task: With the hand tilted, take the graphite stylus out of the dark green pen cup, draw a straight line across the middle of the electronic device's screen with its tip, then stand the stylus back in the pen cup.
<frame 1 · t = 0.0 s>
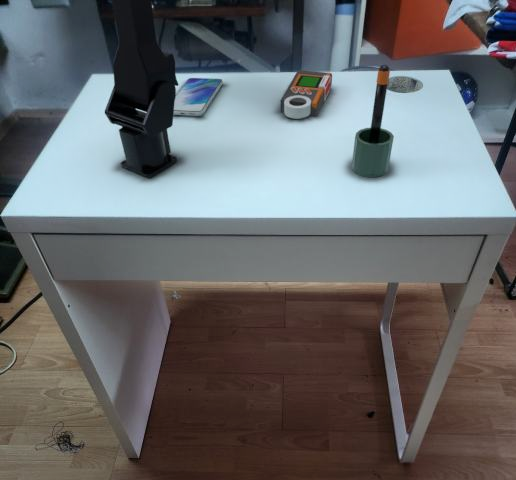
hand: (255, 7, 83), 15 cm above the table, tool pointing down, fingers open, 9 cm apart
stylus: (370, 165, 76), resting on pen cup
pen cup: (369, 168, 76), on the table
smartphone: (195, 99, 95), on the table
electronic device: (305, 103, 92), on the table
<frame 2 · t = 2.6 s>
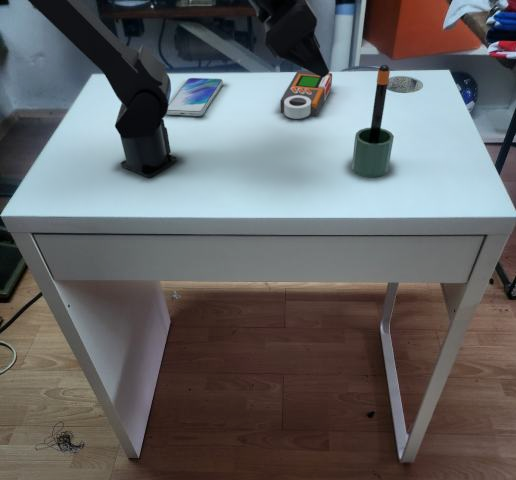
hand: (321, 61, 69), 14 cm above the table, tool tilted 40°, fingers open, 9 cm apart
nothing on the table moved.
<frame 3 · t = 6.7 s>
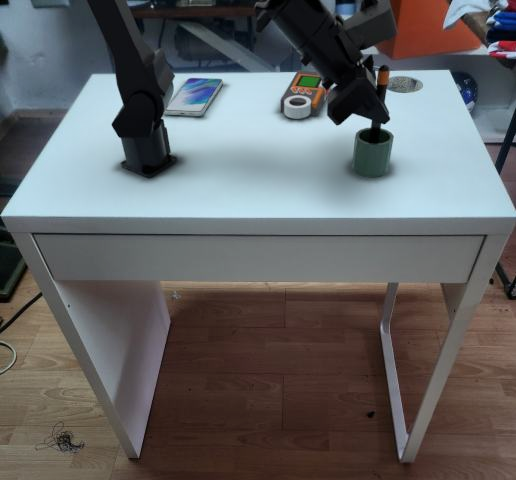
hand: (387, 118, 71), 7 cm above the table, tool tilted 45°, fingers closed on stylus, 1 cm apart
stylus: (370, 165, 76), resting on pen cup, touching gripper
everything else where it was.
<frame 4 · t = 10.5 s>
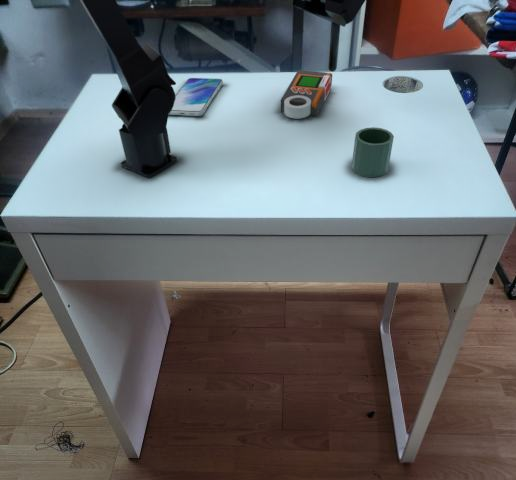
hand: (342, 22, 80), 14 cm above the table, tool tilted 45°, fingers closed on stylus
stylus: (332, 71, 85), point 7 cm above the table, touching gripper
everything else where it was.
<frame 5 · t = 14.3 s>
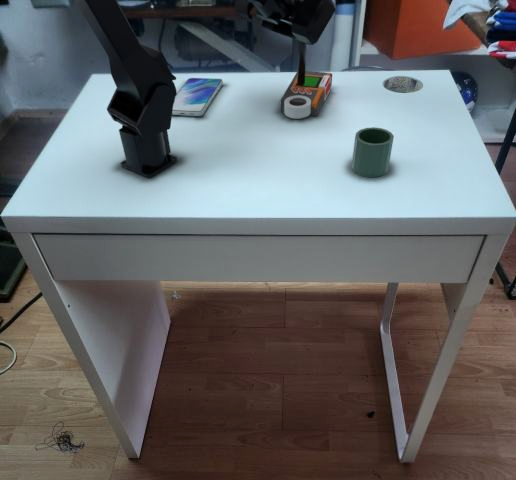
hand: (308, 41, 86), 10 cm above the table, tool tilted 45°, fingers closed on stylus, 1 cm apart
stylus: (300, 86, 91), point 3 cm above the table, touching gripper
everything else where it was.
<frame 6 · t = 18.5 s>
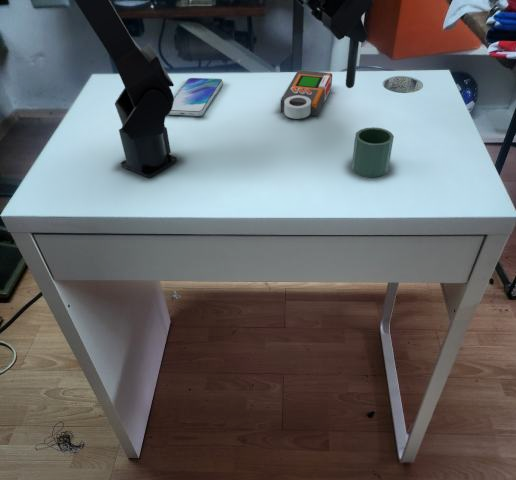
hand: (363, 37, 75), 14 cm above the table, tool tilted 45°, fingers closed on stylus
stylus: (349, 87, 80), point 7 cm above the table, touching gripper
everything else where it was.
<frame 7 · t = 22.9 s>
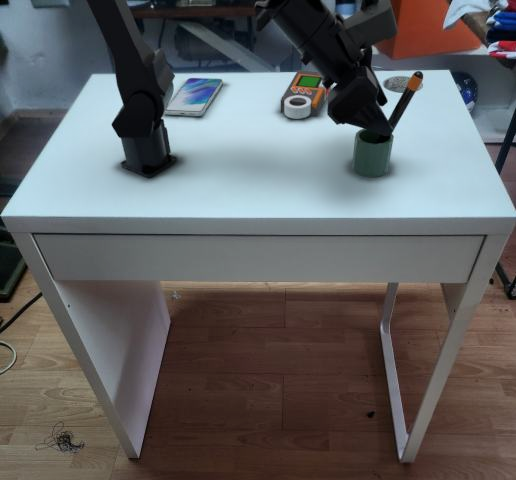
hand: (387, 118, 70), 8 cm above the table, tool tilted 45°, fingers open, 9 cm apart
stylus: (368, 164, 76), point 1 cm above the table, tilted 21°, touching pen cup
everything else where it was.
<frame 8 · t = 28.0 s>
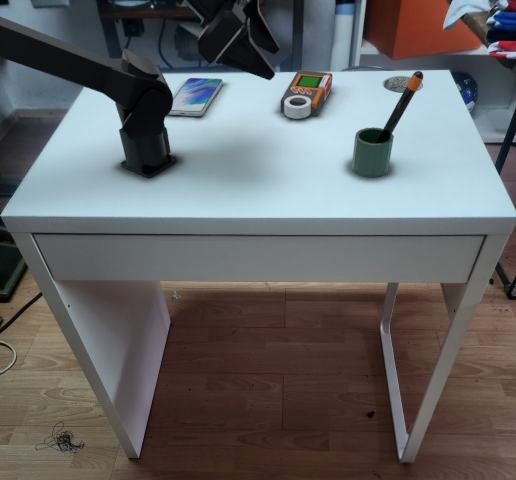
hand: (275, 64, 69), 14 cm above the table, tool tilted 45°, fingers open, 9 cm apart
nothing on the table moved.
at the end: stylus 0.2 cm off-centre in the pen cup, point 0.5 cm above the pen cup's base; stylus tilted 21°; electronic device moved 0.2 cm from its start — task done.
